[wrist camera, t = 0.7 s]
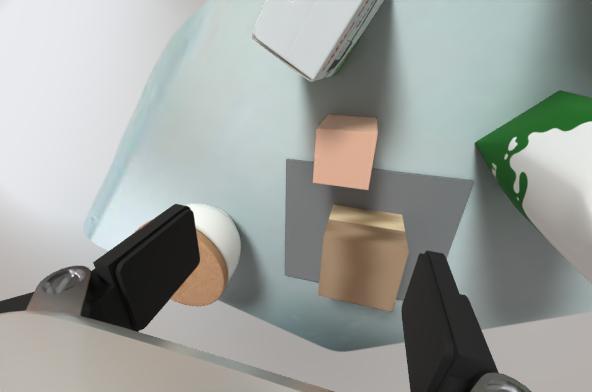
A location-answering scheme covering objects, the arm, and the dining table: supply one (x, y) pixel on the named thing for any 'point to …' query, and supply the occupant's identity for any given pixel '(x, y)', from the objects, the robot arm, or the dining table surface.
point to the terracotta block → (345, 151)
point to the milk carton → (549, 171)
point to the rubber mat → (379, 197)
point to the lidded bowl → (210, 256)
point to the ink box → (313, 32)
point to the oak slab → (367, 217)
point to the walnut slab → (362, 264)
